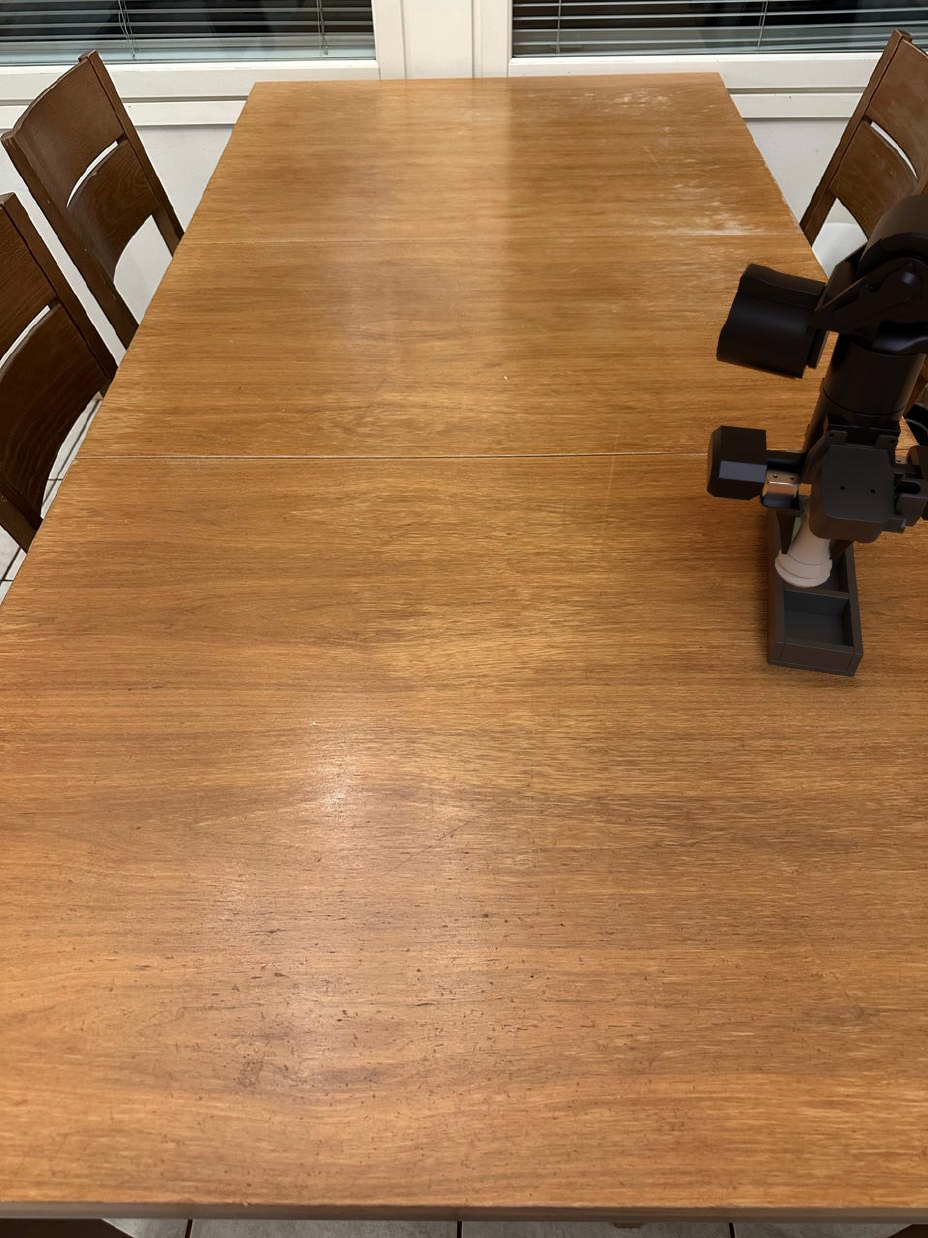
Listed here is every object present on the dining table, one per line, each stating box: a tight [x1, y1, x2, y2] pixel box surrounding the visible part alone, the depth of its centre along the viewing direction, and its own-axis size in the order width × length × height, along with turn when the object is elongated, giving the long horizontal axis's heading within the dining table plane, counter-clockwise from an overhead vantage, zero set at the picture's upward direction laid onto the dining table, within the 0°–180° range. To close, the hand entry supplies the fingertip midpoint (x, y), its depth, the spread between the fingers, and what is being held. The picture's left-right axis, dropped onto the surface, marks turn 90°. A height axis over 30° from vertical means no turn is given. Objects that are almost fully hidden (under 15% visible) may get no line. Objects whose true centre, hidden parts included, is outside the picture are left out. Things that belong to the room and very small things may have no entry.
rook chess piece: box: [775, 493, 832, 588], centre depth 76 cm, size 4×4×8 cm
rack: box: [765, 494, 865, 678], centre depth 90 cm, size 7×21×3 cm, turn 169°
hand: (806, 553), depth 77 cm, fingers closed on rook chess piece, 3 cm apart
